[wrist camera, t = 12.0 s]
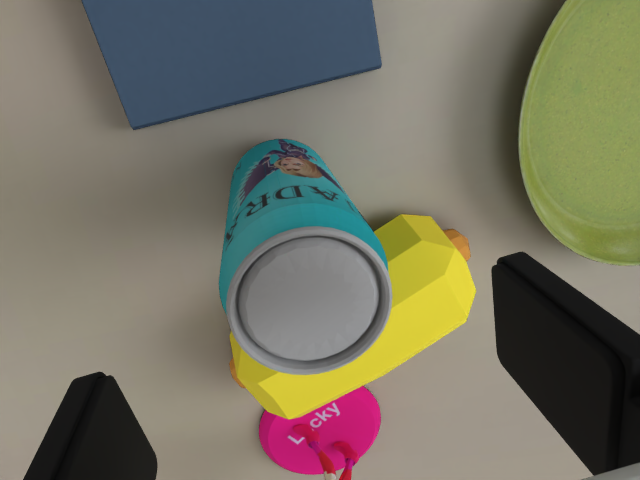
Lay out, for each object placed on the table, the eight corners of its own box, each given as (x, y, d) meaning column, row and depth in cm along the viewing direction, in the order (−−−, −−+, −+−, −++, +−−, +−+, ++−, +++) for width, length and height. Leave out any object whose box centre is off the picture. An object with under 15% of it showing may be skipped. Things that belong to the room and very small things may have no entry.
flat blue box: (74, -36, 22) (59, -43, 20) (350, -99, 23) (359, -112, 21) (137, 127, 25) (128, 133, 23) (377, 67, 26) (386, 68, 24)
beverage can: (323, 129, 27) (404, 209, 13) (328, 220, 29) (401, 370, 15) (225, 137, 26) (201, 230, 12) (238, 230, 28) (229, 395, 15)
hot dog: (200, 322, 30) (263, 394, 33) (189, 390, 24) (267, 470, 27) (432, 182, 29) (475, 270, 32) (482, 216, 23) (529, 321, 26)
